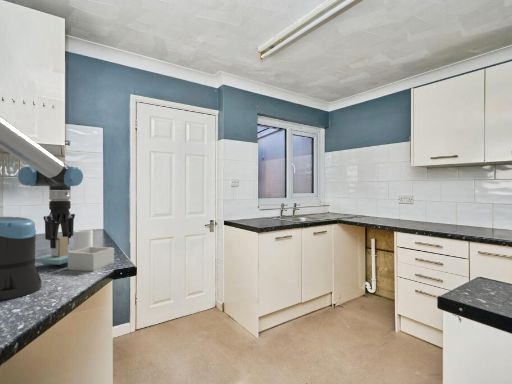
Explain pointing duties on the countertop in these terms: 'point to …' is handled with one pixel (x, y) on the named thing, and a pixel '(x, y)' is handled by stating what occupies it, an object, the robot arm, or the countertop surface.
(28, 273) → the robot arm
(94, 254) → the tub
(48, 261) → the lid
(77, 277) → the countertop surface
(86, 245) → the mug
